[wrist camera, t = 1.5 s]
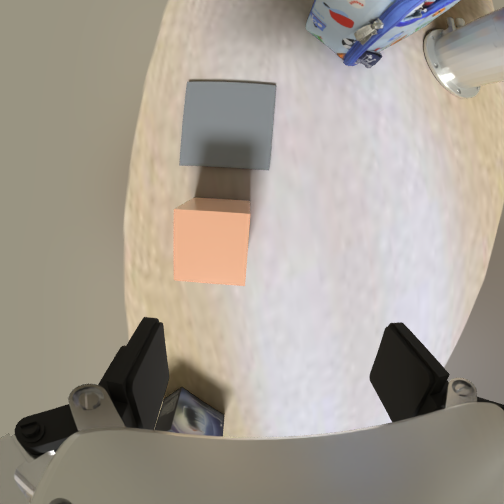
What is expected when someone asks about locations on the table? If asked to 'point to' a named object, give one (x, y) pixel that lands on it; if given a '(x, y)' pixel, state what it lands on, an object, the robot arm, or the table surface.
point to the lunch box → (370, 25)
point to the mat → (227, 125)
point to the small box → (189, 415)
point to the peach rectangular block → (211, 241)
